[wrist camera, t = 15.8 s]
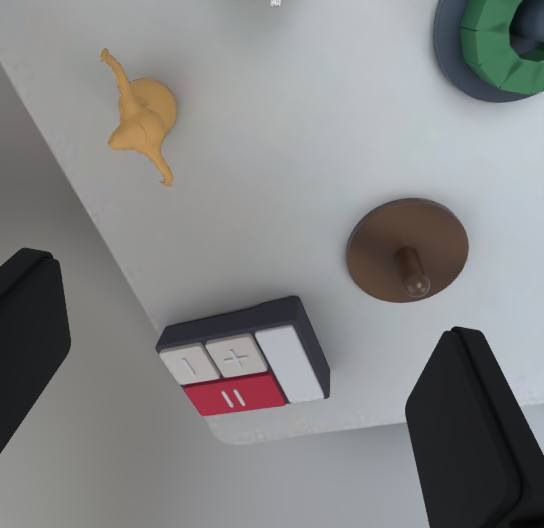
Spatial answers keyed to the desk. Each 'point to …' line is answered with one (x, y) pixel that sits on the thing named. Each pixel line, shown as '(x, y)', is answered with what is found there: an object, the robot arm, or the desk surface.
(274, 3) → the milkshake
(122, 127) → the figurine
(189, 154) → the desk surface
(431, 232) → the walnut peg
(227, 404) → the calculator
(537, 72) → the ring
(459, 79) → the slate peg
